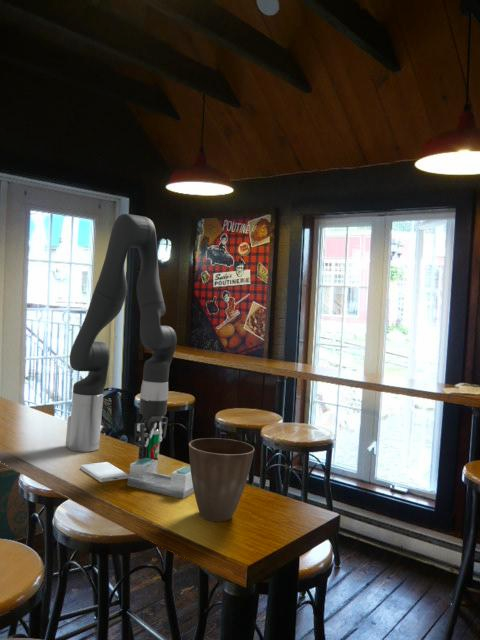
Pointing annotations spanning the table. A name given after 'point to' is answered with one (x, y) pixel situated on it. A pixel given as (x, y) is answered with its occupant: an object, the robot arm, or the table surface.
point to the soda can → (153, 445)
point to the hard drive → (104, 471)
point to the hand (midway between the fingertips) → (148, 456)
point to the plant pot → (219, 475)
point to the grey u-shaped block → (160, 479)
